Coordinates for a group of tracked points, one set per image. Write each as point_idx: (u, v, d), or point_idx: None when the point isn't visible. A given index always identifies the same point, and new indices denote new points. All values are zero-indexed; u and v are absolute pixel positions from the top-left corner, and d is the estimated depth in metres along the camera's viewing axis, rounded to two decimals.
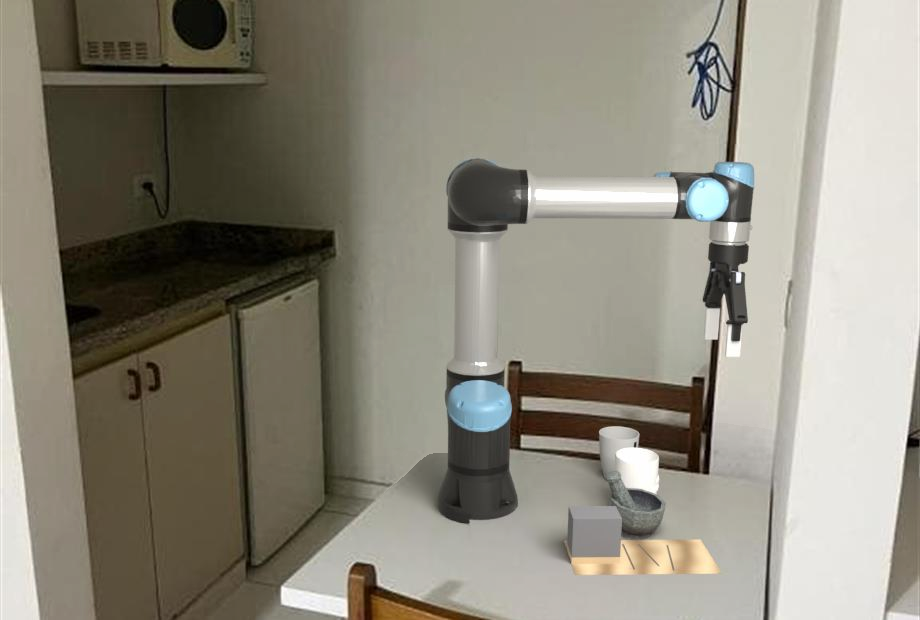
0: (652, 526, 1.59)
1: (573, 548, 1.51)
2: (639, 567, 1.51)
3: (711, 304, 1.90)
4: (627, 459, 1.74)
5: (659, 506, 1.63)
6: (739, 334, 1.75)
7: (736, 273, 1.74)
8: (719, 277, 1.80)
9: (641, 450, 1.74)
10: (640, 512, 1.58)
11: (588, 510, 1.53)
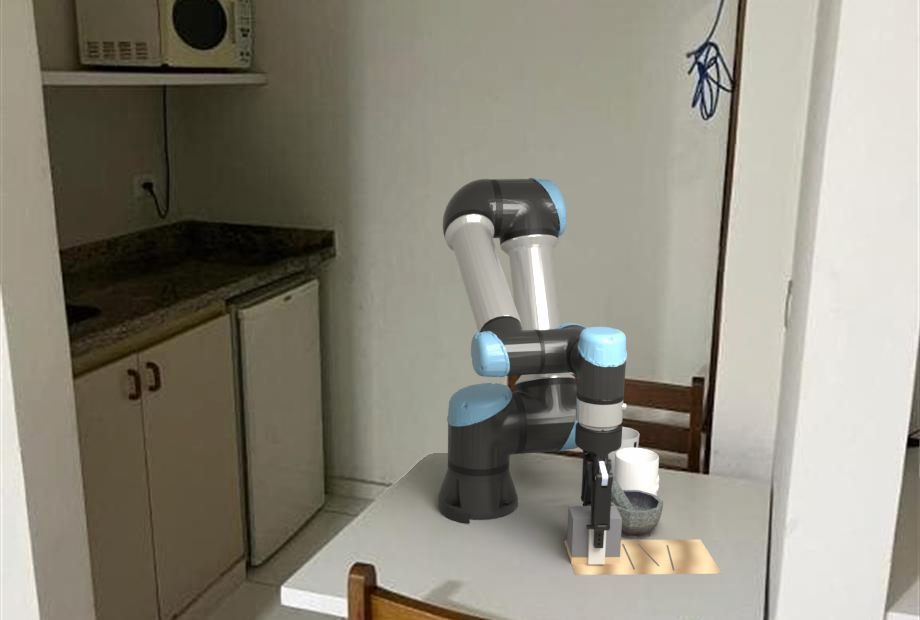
0: (649, 525, 1.59)
1: (573, 548, 1.51)
2: (639, 567, 1.51)
3: None
4: (627, 459, 1.74)
5: (657, 506, 1.63)
6: (602, 541, 1.49)
7: (602, 477, 1.44)
8: (587, 466, 1.49)
9: (641, 450, 1.74)
10: (636, 511, 1.58)
11: (588, 510, 1.53)
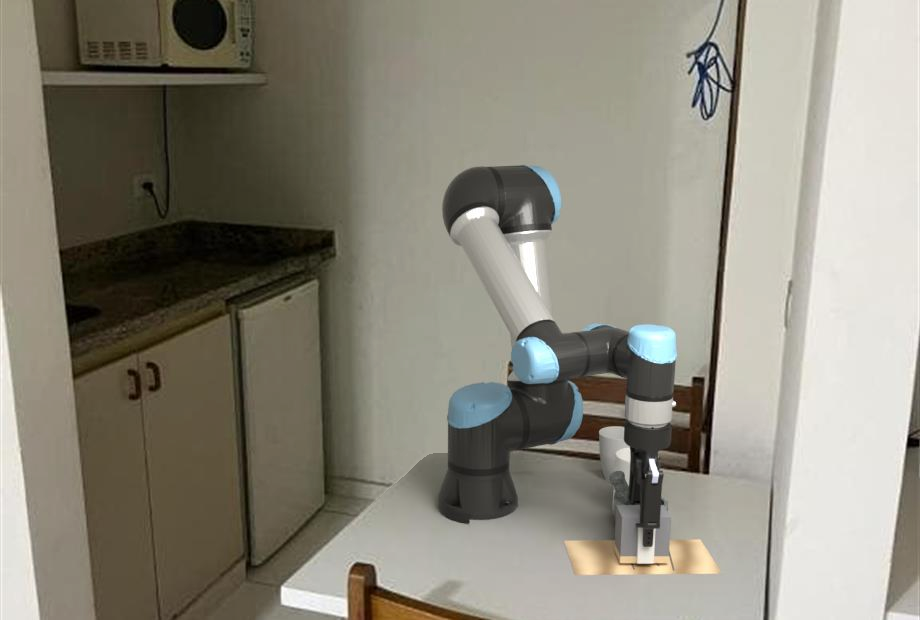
0: None
1: (622, 547, 1.51)
2: (639, 567, 1.51)
3: None
4: (627, 459, 1.74)
5: None
6: (651, 539, 1.48)
7: (653, 474, 1.44)
8: (636, 464, 1.49)
9: None
10: None
11: (636, 509, 1.53)
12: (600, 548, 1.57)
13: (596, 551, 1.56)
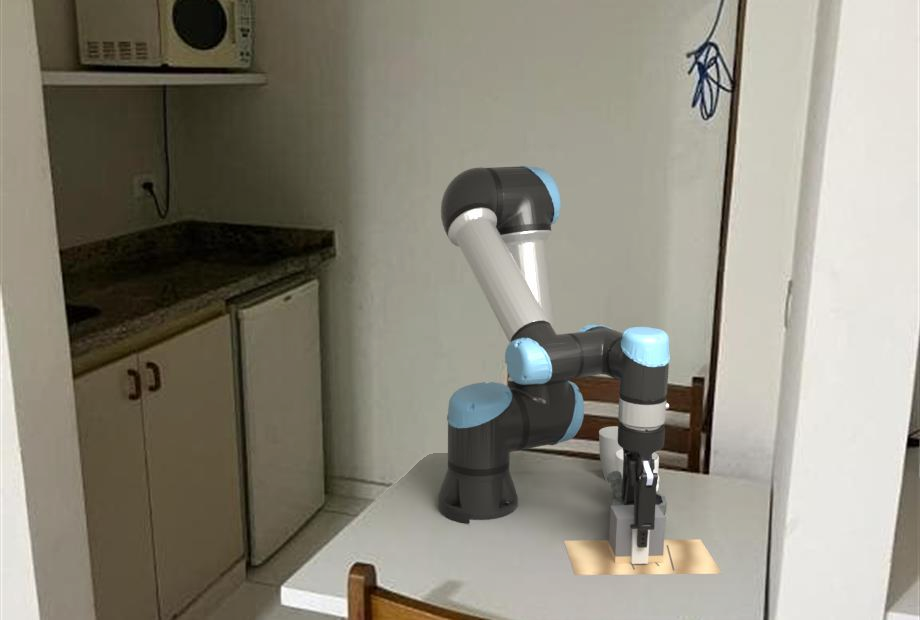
0: None
1: (617, 547, 1.52)
2: (639, 567, 1.51)
3: None
4: None
5: (658, 501, 1.65)
6: (646, 540, 1.50)
7: (647, 477, 1.45)
8: (630, 466, 1.50)
9: None
10: None
11: (630, 509, 1.54)
12: (600, 548, 1.57)
13: (596, 551, 1.56)
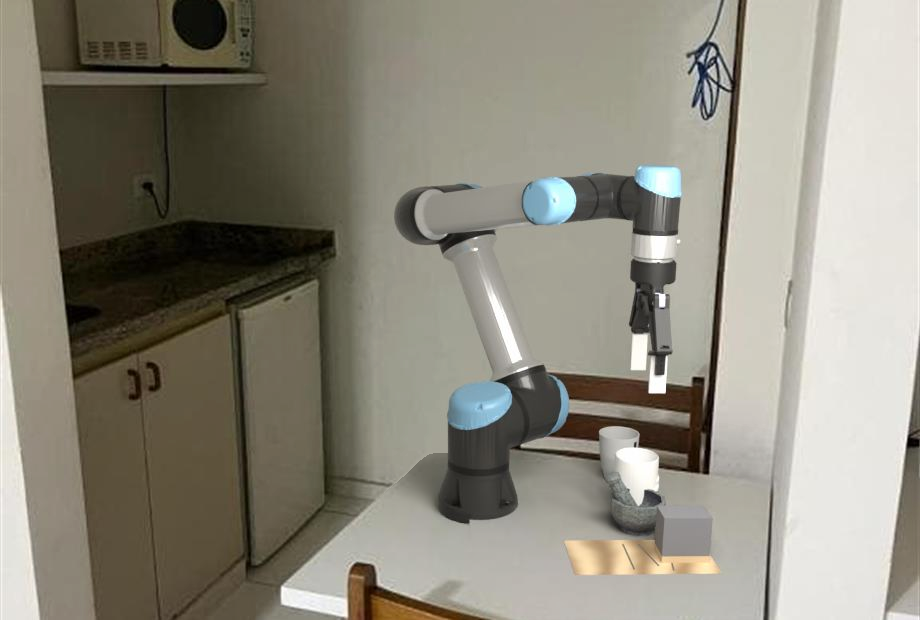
0: None
1: (663, 547, 1.52)
2: (639, 567, 1.51)
3: (638, 329, 1.64)
4: (627, 459, 1.74)
5: (658, 501, 1.65)
6: (663, 367, 1.50)
7: (659, 296, 1.49)
8: (642, 299, 1.54)
9: (641, 450, 1.74)
10: (645, 508, 1.60)
11: (677, 509, 1.54)
12: (600, 548, 1.57)
13: (596, 551, 1.56)
